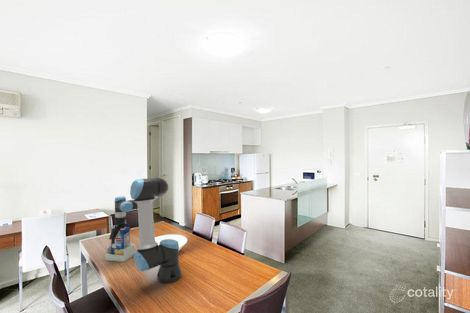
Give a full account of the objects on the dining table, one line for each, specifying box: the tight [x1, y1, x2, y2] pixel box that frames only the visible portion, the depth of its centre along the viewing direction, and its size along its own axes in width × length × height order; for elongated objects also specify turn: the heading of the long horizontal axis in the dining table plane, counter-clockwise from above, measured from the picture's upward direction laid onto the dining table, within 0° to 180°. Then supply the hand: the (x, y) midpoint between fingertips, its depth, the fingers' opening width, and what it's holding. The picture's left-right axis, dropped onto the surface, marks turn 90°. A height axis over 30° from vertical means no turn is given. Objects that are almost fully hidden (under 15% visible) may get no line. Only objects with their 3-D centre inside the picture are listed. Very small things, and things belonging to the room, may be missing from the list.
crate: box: [104, 243, 136, 263], centre depth 164 cm, size 16×13×9 cm
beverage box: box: [110, 226, 131, 256], centre depth 164 cm, size 7×11×22 cm, turn 81°
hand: (120, 244), depth 164 cm, fingers open, 13 cm apart
